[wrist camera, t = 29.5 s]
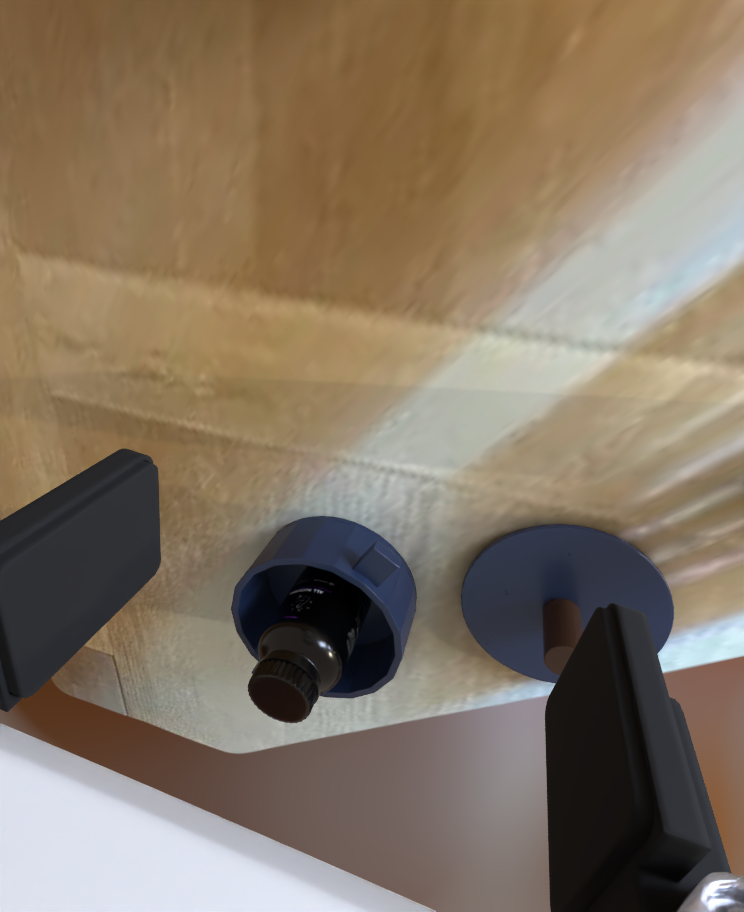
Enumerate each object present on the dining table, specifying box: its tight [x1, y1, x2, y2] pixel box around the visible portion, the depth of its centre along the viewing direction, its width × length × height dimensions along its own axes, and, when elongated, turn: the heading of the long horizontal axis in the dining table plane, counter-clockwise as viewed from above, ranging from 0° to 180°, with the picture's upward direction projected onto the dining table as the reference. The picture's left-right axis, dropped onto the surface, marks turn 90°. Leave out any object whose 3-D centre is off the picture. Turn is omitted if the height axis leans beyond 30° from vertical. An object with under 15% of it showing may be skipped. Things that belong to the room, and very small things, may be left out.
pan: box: [231, 516, 417, 698], centre depth 44 cm, size 14×20×6 cm
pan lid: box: [461, 524, 674, 683], centre depth 38 cm, size 15×15×6 cm
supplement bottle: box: [248, 566, 371, 723], centre depth 41 cm, size 7×7×12 cm
